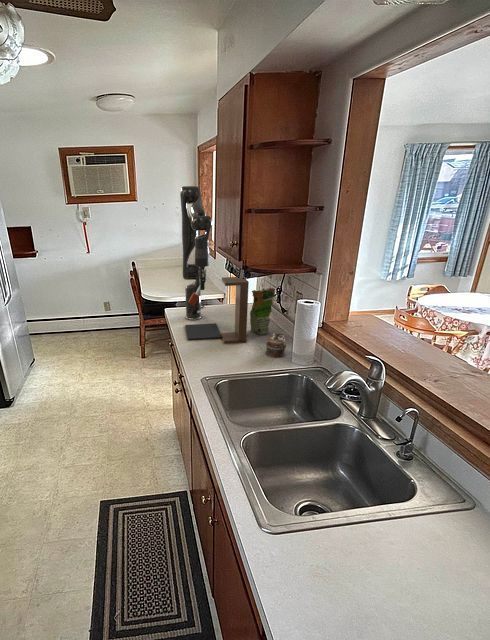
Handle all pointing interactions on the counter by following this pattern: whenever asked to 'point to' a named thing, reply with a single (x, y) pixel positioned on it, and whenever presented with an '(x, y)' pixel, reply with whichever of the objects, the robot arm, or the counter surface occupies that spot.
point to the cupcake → (276, 345)
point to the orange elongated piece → (195, 296)
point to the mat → (202, 331)
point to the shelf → (238, 310)
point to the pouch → (261, 310)
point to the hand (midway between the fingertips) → (202, 289)
